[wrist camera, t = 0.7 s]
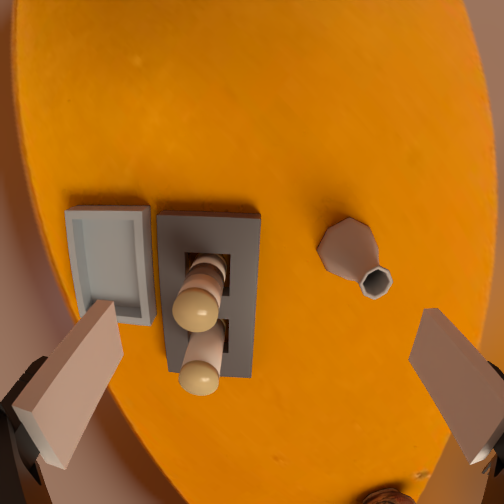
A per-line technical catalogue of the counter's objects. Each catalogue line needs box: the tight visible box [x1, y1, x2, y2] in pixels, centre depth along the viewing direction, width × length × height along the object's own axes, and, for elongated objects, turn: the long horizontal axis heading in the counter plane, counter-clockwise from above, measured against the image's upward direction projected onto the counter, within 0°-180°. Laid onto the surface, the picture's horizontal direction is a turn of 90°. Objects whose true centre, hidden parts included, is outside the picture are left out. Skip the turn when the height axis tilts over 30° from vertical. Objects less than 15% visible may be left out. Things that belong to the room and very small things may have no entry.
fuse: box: [179, 319, 226, 395], centre depth 35 cm, size 4×4×11 cm
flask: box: [317, 217, 393, 300], centre depth 32 cm, size 7×7×10 cm
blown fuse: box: [172, 253, 227, 332], centre depth 32 cm, size 4×4×11 cm
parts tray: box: [65, 205, 157, 326], centre depth 36 cm, size 14×10×3 cm
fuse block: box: [157, 210, 261, 378], centre depth 38 cm, size 21×11×2 cm, turn 177°
